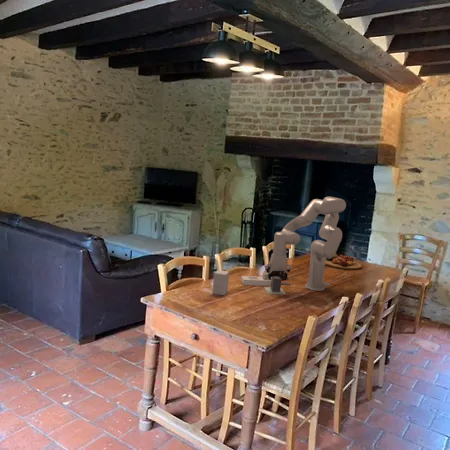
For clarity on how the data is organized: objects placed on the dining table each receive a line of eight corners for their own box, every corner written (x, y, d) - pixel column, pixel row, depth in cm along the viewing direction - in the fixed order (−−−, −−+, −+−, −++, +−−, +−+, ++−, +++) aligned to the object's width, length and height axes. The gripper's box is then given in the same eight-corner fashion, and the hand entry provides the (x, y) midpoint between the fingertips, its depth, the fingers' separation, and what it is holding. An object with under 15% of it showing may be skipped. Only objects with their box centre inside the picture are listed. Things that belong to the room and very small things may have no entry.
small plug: (268, 280, 274) (269, 272, 273) (270, 282, 270) (271, 274, 269) (262, 279, 273) (263, 272, 272) (264, 281, 269) (265, 274, 269)
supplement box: (227, 292, 250) (229, 271, 248) (223, 295, 243) (225, 274, 241) (216, 289, 252) (218, 269, 250) (211, 293, 245) (213, 272, 243)
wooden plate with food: (359, 273, 320) (361, 262, 319) (317, 265, 331) (319, 255, 330) (362, 265, 349) (364, 255, 348) (324, 258, 361) (325, 248, 360)
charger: (278, 289, 261) (279, 276, 260) (280, 291, 257) (281, 278, 255) (270, 289, 261) (271, 276, 259) (272, 291, 256) (273, 278, 254)
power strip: (288, 282, 278) (289, 276, 278) (291, 286, 271) (292, 280, 270) (241, 281, 273) (241, 274, 273) (243, 285, 266) (243, 278, 265)
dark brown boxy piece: (265, 277, 286) (267, 263, 285) (269, 274, 296) (271, 260, 294) (280, 280, 283) (281, 266, 281) (283, 276, 292) (285, 263, 290)
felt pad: (281, 288, 265) (281, 287, 265) (285, 294, 254) (286, 293, 254) (264, 288, 263) (264, 287, 263) (268, 293, 252) (268, 293, 252)
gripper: (291, 251, 260) (289, 277, 263) (264, 250, 257) (262, 277, 260) (295, 254, 252) (292, 281, 255) (267, 253, 250) (265, 281, 253)
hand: (277, 279), depth 258 cm, fingers open, 9 cm apart
